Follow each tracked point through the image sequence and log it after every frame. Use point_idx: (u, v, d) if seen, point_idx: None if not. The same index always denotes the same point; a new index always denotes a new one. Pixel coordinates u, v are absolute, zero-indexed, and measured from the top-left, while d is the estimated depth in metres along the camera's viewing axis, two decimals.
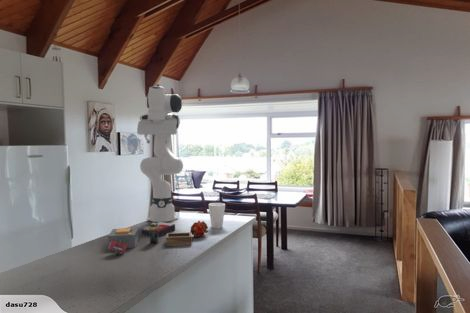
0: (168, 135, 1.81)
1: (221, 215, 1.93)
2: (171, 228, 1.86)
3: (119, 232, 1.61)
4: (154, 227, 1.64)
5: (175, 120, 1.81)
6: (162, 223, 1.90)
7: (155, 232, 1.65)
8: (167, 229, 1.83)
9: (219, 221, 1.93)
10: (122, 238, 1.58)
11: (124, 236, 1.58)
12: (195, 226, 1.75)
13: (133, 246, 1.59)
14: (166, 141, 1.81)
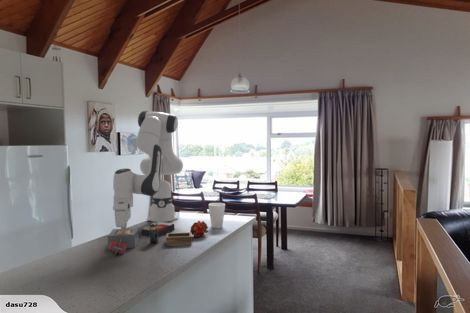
0: (126, 222, 1.65)
1: (221, 215, 1.93)
2: (170, 228, 1.87)
3: None
4: (154, 227, 1.64)
5: None
6: (161, 223, 1.91)
7: (155, 232, 1.65)
8: (167, 229, 1.84)
9: (219, 221, 1.93)
10: (122, 238, 1.58)
11: (124, 236, 1.58)
12: (195, 226, 1.75)
13: (133, 246, 1.59)
14: None
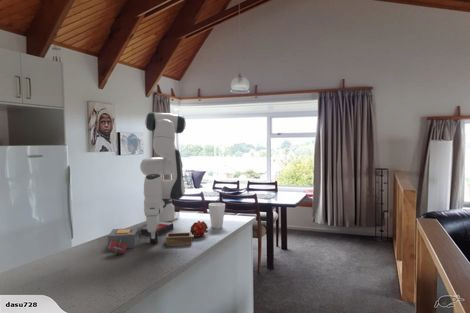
0: None
1: (221, 215, 1.93)
2: (170, 227, 1.88)
3: (119, 233, 1.61)
4: None
5: None
6: (160, 222, 1.92)
7: (155, 232, 1.65)
8: (166, 228, 1.85)
9: (219, 221, 1.93)
10: (122, 238, 1.58)
11: (124, 236, 1.58)
12: (195, 226, 1.75)
13: (133, 246, 1.59)
14: None
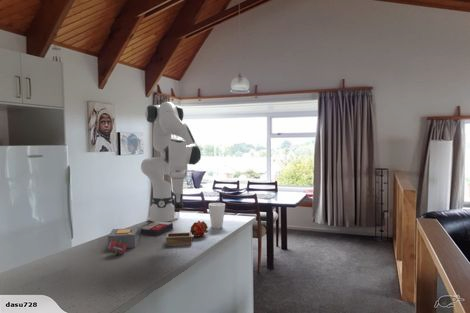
0: None
1: (221, 215, 1.93)
2: (169, 227, 1.89)
3: (119, 233, 1.61)
4: None
5: None
6: (160, 222, 1.92)
7: (180, 196, 1.63)
8: (165, 228, 1.85)
9: (219, 221, 1.93)
10: (122, 238, 1.58)
11: (124, 236, 1.58)
12: (195, 226, 1.75)
13: (133, 246, 1.59)
14: None
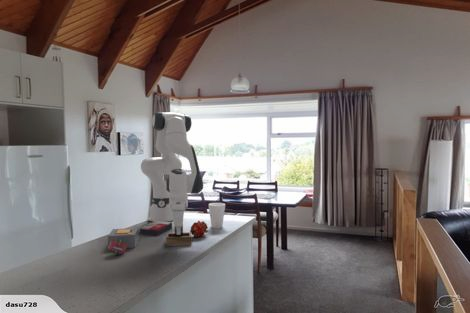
0: None
1: (221, 215, 1.93)
2: (168, 227, 1.89)
3: (119, 233, 1.61)
4: None
5: None
6: (159, 222, 1.93)
7: None
8: (165, 228, 1.86)
9: (219, 221, 1.93)
10: (122, 238, 1.58)
11: (124, 236, 1.58)
12: (195, 226, 1.75)
13: (133, 246, 1.59)
14: None
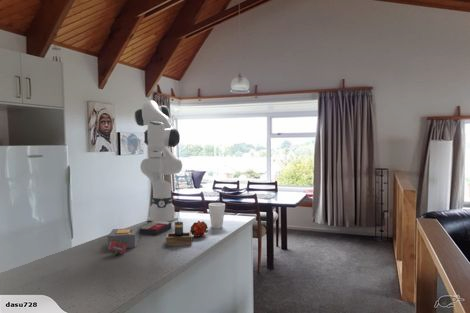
0: (159, 171, 1.80)
1: (221, 215, 1.93)
2: (168, 226, 1.90)
3: (119, 233, 1.61)
4: (179, 225, 1.64)
5: None
6: (158, 222, 1.93)
7: (181, 230, 1.64)
8: (164, 227, 1.87)
9: (219, 221, 1.93)
10: (122, 238, 1.58)
11: (124, 236, 1.58)
12: (195, 226, 1.75)
13: (133, 246, 1.59)
14: (159, 177, 1.80)
